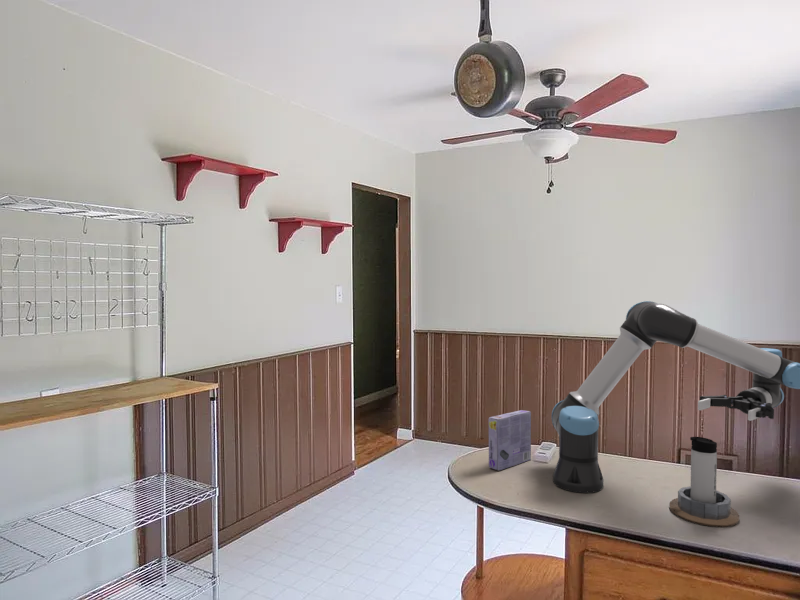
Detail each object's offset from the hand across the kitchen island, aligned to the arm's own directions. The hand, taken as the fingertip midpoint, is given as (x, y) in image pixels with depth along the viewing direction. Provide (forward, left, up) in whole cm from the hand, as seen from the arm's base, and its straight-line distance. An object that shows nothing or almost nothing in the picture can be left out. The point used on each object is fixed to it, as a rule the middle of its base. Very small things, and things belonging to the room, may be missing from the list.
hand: (723, 410), depth 161 cm
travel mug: (+4, -12, -26) cm, 29 cm away
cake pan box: (-47, -43, -27) cm, 69 cm away
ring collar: (+5, -12, -27) cm, 29 cm away
